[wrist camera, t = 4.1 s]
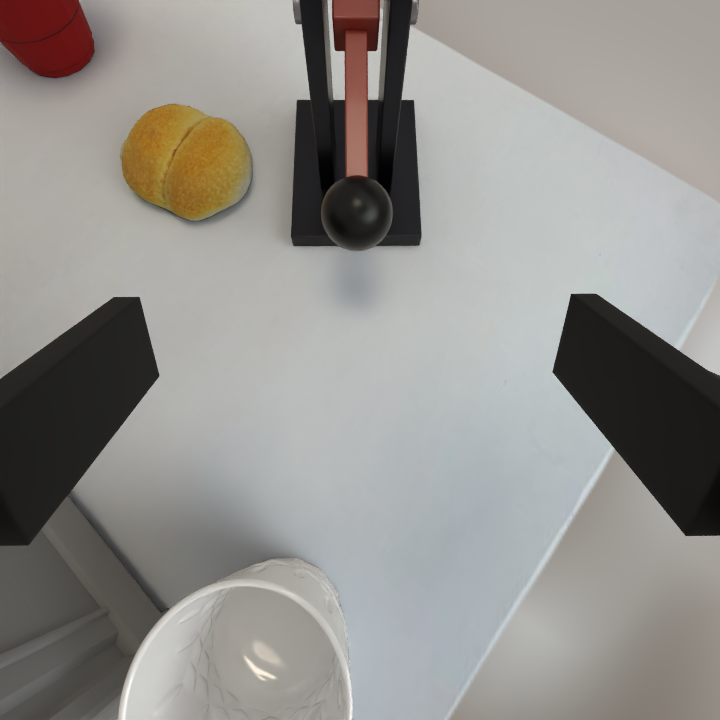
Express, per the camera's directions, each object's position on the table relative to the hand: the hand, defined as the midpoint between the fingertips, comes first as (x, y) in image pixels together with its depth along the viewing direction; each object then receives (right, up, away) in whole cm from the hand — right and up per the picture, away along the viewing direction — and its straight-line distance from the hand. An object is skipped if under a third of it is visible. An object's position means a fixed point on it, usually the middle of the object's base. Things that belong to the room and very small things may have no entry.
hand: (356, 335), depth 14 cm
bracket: (0, +13, +19) cm, 23 cm away
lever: (0, +11, +10) cm, 15 cm away
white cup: (-4, -15, +11) cm, 19 cm away
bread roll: (-12, +13, +19) cm, 26 cm away
